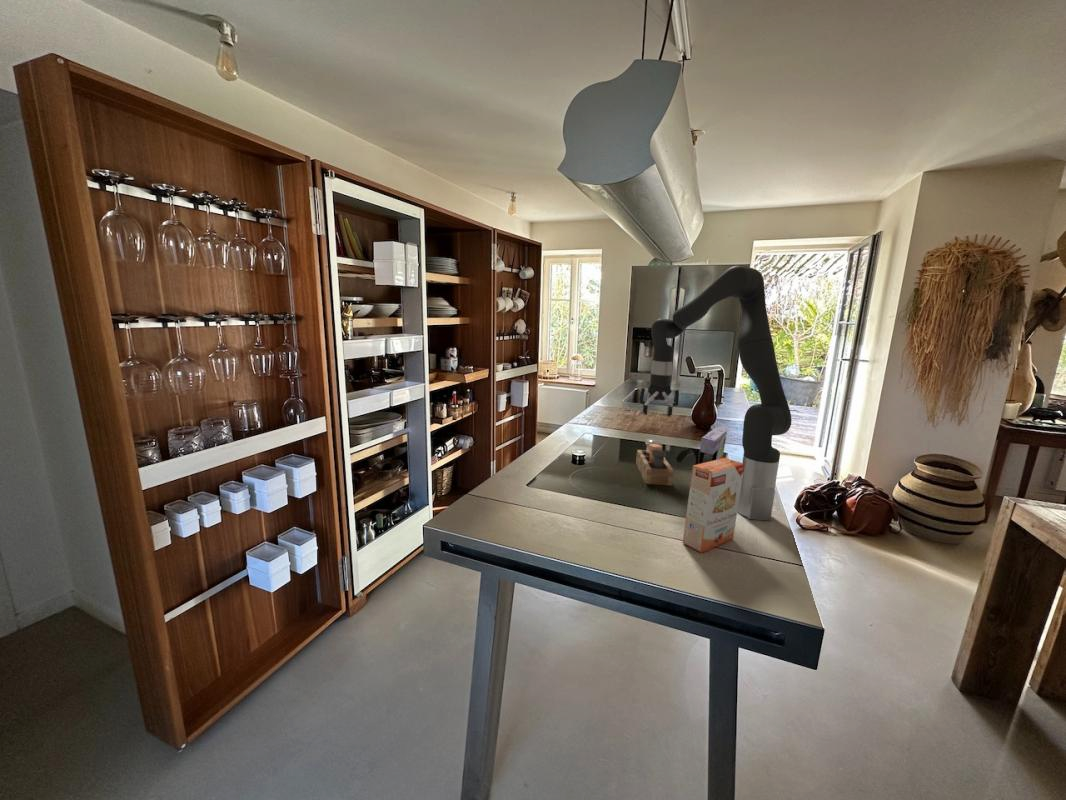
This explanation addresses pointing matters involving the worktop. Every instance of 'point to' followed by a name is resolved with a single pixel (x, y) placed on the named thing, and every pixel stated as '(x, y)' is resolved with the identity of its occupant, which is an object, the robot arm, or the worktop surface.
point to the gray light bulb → (658, 458)
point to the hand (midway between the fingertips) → (656, 415)
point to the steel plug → (648, 442)
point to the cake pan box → (712, 446)
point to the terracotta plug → (653, 447)
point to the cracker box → (713, 503)
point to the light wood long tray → (654, 470)
